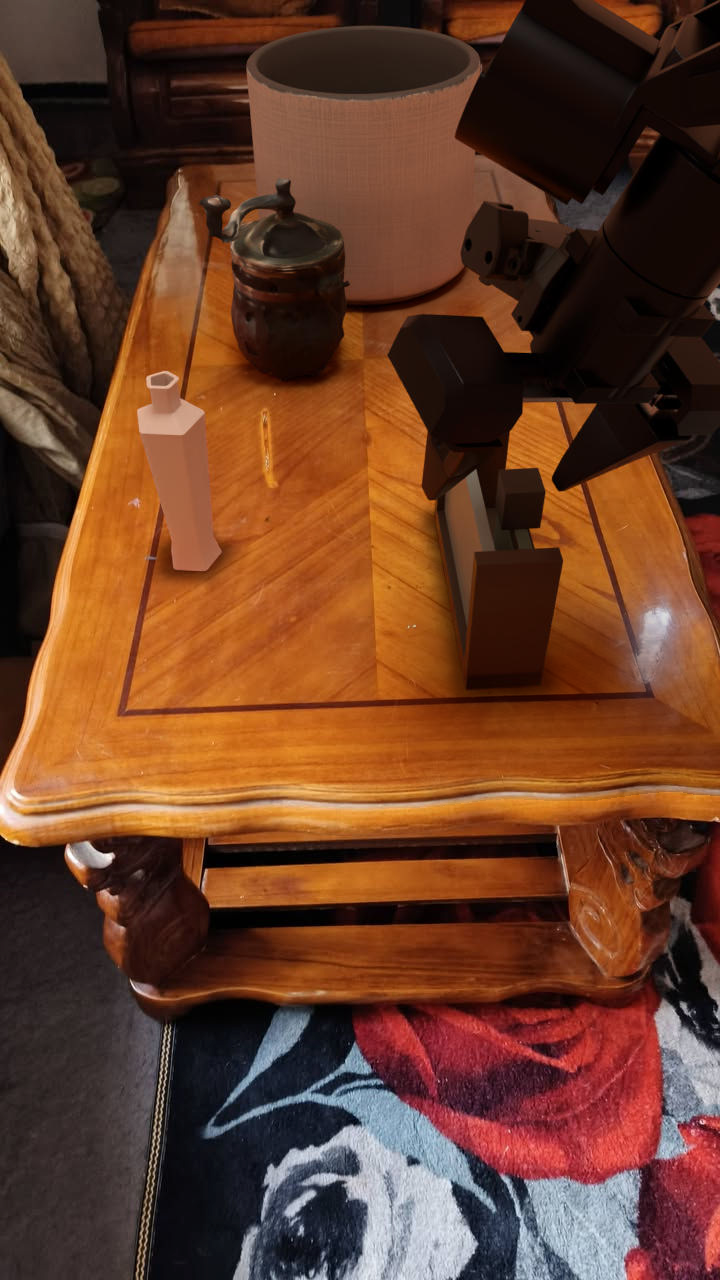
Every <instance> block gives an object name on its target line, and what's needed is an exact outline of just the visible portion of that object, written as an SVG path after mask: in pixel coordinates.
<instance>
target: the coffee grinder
mask: <svg viewBox="0 0 720 1280" xmlns="http://www.w3.org/2000/svg"><path fill="white" fill-rule="evenodd" d="M290 185H291V181H290V180H289V179H287V178H278V179H277V181H276V184H275V187H276V190H277V193H274V194H269V195H264V196H258V197H257V196H253V197H251V198H248V199H246V200H244V201H242V202H241V203H240V204H239V205H238V207H237V208H236V209H235V210H233V212H232V213H231V215H230V216H229V221H228V223H227V225H225V227H223V225H224V224H223V223H224V222H223V214H224V213H225V212H226V211H229V210H230V209H231V208H232V203H231V200H230V199H228V198H225V197H222V196H220V195H219V194H215V195H212V196H210V195H209V196H206V197H203V198H201V199H200V200H199V202H198V205H200V206H201V207H202V208H203V210H204V212H205V218H206V219H205V220H206V221H205V222H206V223H205V224H206V227H207V230H208V236H210V237H212V238H217V239H219V240H221V242H222V243H223V244H229V248H230V249H229V250H230V258H231V271H232V279H233V290H232V300H231V309H230V317H231V324H232V329H233V330H232V331H233V335H234V338H235V340H236V342H237V347H238V350H239V351H240V352H241V353H242V355H243V356H244V358H245V360H246V361H247V362H248V363H249V365H251V366H252V367H253V368H255V369H256V370H257V371H258V372H259V373H261V374H265V375H272V376H274V377H275V378H276V379H277V380H279V381H280V382H284V381H290V380H293V379H295V378H298V377H301V376H305V375H309V376H310V377H314V376H317V375H318V374H319V373H321V372H323V371H324V370H325V369H326V367H327V364H329V362H330V361H331V359H332V358H333V357H334V355H335V353H336V351H337V349H338V348H340V347H339V346H340V344H341V342H342V341H343V338H344V337H345V330H344V327H343V326H344V325H343V324H344V320H345V316H346V313H347V309H348V305H347V302H346V296H345V289H344V287H348V286H349V285H350V283H349V282H348V280H347V281H345V282H344V270H345V246H344V239H343V236H342V234H341V232H340V231H339V230H338V229H336V228H335V227H334V226H333V225H331V224H329V223H326V222H324V221H322V220H317V219H315V218H310V217H308V216H306V215H303V214H300V213H296V212H293V209H294V207H295V204H296V201H295V199H294V197H293V196H292V195H291V193H290ZM258 209H269V210H274V211H275V212H276V213H274V214H271V215H269V216H267V217H264V218H261V219H260V220H259V219H257V220H252V221H248V222H245V221H243V220H244V219H245V217H246V216H247V215H248V214H250V212H253V211H255V210H258Z"/></svg>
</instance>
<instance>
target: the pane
mask: <svg viewBox="0 0 720 1280" xmlns="http://www.w3.org/2000/svg"><path fill="white" fill-rule="evenodd" d="M545 500H546V488H545V484H544V481H543V479H542V476H541V472H540V470H539V467H528V468H527V467H524V468H523V467H522V468H506V469H503V470H499V475H498V484H497V494H496V503H495V507H496V511H497V516H496V526H495V535H494V546H495V550H496V551H498V550H517V549H536V547H535V544H534V540H533V537H532V534H531V533H532V532H531V530H532V529H535V530H536V529H540V528H541V526H542V519H543V513H544V506H545Z"/></svg>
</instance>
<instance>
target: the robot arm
mask: <svg viewBox="0 0 720 1280" xmlns="http://www.w3.org/2000/svg"><path fill="white" fill-rule="evenodd" d="M646 127H648V128H650V129H651V130H653V131H655V132H656V133H658V134H657V136H656V138H655V140H654V141H653V142H652V144H651V146H650V147H649V149H648V151H647V153H646V154H645V155H644V157H643V159H642V160H641V162H640V163H639V165H638V167H637V168H636V170H635V171H634V172H633V175H632V176H631V178H630V179H629V181H628V183H627V184H626V186H624V189H623V191H621V194H620V195H619V197H618V198H617V200H616V202H615V203H614V205H613V207H612V208H611V209H610V211H609V212H608V214H607V216H606V217H605V219H604V220H603V222H602V223H601V225H600V227H599V228H598V230H595V229H588V228H587V229H586V228H577V227H576V228H575V229H574V228H572V227H570V226H568V225H565V224H562V223H559V222H555V221H552V220H551V221H550V220H544V219H536V218H530V216H529V214H528V212H526V211H523V210H516V209H515V208H514V206H513V205H512V204H510V203H505V202H498V201H489V200H488V201H487V200H484V201H483V202H482V204H481V205H480V207H479V209H478V210H477V212H476V213H475V215H474V216H473V217H472V221H471V223H470V224H469V226H468V228H467V230H466V233H465V237H464V241H463V244H462V248H461V253H460V254H461V260H462V263H463V265H464V268H466V269H468V270H470V271H471V272H473V273H475V274H476V275H477V276H478V281H479V282H480V283H481V284H483V285H484V286H486V287H490V286H493V287H495V288H496V289H498V290H499V291H501V292H502V293H504V294H506V295H507V296H508V297H510V298H512V299H514V300H515V301H517V304H516V305H515V307H514V308H513V310H512V312H511V317H512V318H513V320H514V321H515V323H516V325H517V327H518V328H519V329H520V331H521V332H529V334H530V335H531V337H532V339H531V341H530V343H529V349H530V352H521V351H504V349H503V347H502V346H501V345H500V343H499V341H498V339H497V338H496V336H495V334H494V333H493V331H492V330H491V328H490V326H489V324H488V323H487V321H486V319H485V317H484V316H475V315H474V316H473V315H453V314H452V315H451V314H433V313H431V314H430V313H421V314H420V313H419V314H413V315H408V316H407V317H406V318H405V320H404V321H403V323H402V325H401V327H400V328H399V330H398V332H397V334H396V336H395V338H394V340H393V342H392V345H391V347H390V349H389V351H388V353H387V355H386V356H387V357H388V359H389V361H390V364H391V365H392V367H393V368H394V370H395V372H396V375H397V377H398V378H399V380H400V382H401V384H402V385H403V388H404V389H405V391H406V393H407V395H408V397H409V399H410V401H411V402H412V405H413V406H414V408H415V411H416V412H417V414H418V416H419V417H420V420H421V421H422V423H423V425H424V427H425V429H426V431H427V432H426V441H425V450H424V452H425V453H424V460H423V468H422V478H421V488H422V491H423V493H424V495H425V497H426V499H427V500H428V501H435V500H436V499H438V498H439V497H441V496H442V495H444V494H445V493H447V492H448V491H450V490H451V489H452V488H453V487H455V486H456V485H457V484H458V483H459V482H461V481H462V480H463V479H464V478H466V477H467V476H468V475H469V474H471V473H472V472H473V471H474V470H476V469H477V468H478V467H479V466H480V465H482V464H483V463H484V462H486V461H487V460H488V459H489V458H491V457H492V456H493V455H494V454H496V453H497V452H498V451H499V450H500V449H501V448H502V447H503V444H502V442H501V441H500V439H499V437H500V436H502V435H504V434H505V433H507V432H509V431H510V432H511V431H512V430H513V429H514V428H515V426H516V424H517V422H518V421H519V420H520V418H521V417H522V415H523V413H524V404H525V403H526V404H527V403H532V404H533V403H534V404H535V403H537V404H538V403H540V404H541V403H574V404H575V405H595V406H594V407H593V408H592V410H591V411H590V413H589V415H588V416H587V417H586V419H585V420H584V422H583V424H582V426H581V427H580V429H579V430H578V432H577V433H576V435H575V436H574V437H573V440H572V441H571V443H570V444H569V446H568V447H567V449H566V450H565V452H564V454H562V457H561V458H560V460H559V462H558V464H557V466H556V468H555V469H554V472H553V474H552V476H551V482H552V484H553V485H554V487H555V489H556V490H557V491H558V492H567V491H568V490H571V489H574V488H575V487H578V486H580V485H582V484H585V483H587V482H589V481H591V480H594V479H597V478H598V477H600V476H602V475H605V474H607V473H610V472H612V471H615V470H617V469H619V468H621V467H624V466H626V465H629V464H631V463H633V462H635V461H639V460H642V459H644V458H646V457H648V456H651V455H654V454H656V453H658V452H661V451H663V450H666V449H668V448H671V447H673V446H676V445H683V444H686V443H688V442H689V441H690V440H691V439H692V438H693V436H710V435H711V436H712V435H713V434H714V433H715V431H716V430H717V429H718V428H719V427H720V361H719V359H718V358H717V357H716V356H715V354H714V353H713V352H712V350H711V349H710V347H709V345H708V344H707V343H706V342H705V341H704V339H703V338H702V337H703V336H704V335H705V333H707V331H708V330H709V328H710V327H711V326H712V325H713V324H714V323H715V321H716V319H715V318H714V316H713V315H712V314H711V312H710V311H709V310H708V308H707V307H706V306H705V305H704V304H705V303H706V301H708V299H709V298H710V297H711V295H712V294H713V292H714V291H715V290H716V289H717V287H718V286H719V285H720V0H716V1H714V2H712V3H710V4H708V5H706V6H704V7H702V8H700V9H698V10H696V11H694V12H693V13H688V14H687V15H686V16H684V17H683V18H680V19H679V20H677V21H675V22H673V23H671V24H669V25H668V26H667V27H666V28H665V29H664V32H663V33H662V35H661V38H660V39H657V38H656V37H655V36H652V35H651V34H649V33H648V32H646V31H644V30H642V29H641V28H640V27H638V26H636V25H634V24H633V23H631V22H629V21H628V20H626V19H625V18H623V17H622V16H620V15H618V14H617V13H615V12H613V10H610V9H608V8H607V7H605V6H604V5H602V4H601V3H599V2H597V1H595V0H524V1H523V4H522V6H521V8H520V9H519V11H518V13H517V15H516V16H515V18H514V19H513V21H512V23H511V25H510V27H509V28H508V30H507V31H506V34H505V36H504V37H503V39H502V42H501V43H500V45H499V47H498V49H497V51H496V53H495V55H494V56H493V57H492V58H491V60H490V61H489V62H488V63H487V64H486V65H485V67H484V68H483V69H482V70H481V71H480V75H479V77H478V79H477V81H476V84H475V86H474V88H473V90H472V92H471V94H470V97H469V99H468V101H467V104H466V106H465V108H464V111H463V113H462V116H461V118H460V121H459V123H458V126H457V129H456V133H455V139H456V140H458V141H460V142H462V143H463V144H465V145H467V146H468V147H470V148H472V149H473V150H475V152H476V153H478V154H480V155H482V156H483V157H485V158H486V159H488V160H490V161H491V162H494V163H495V164H496V165H498V166H500V167H502V168H503V169H505V170H507V171H509V172H510V173H511V174H514V175H515V176H517V177H519V178H520V179H521V180H523V181H526V182H527V183H528V184H530V185H531V186H533V187H536V188H537V189H539V190H540V191H542V192H544V193H545V194H547V195H549V196H550V197H552V198H553V199H555V200H557V201H559V202H560V203H562V204H563V205H565V206H568V205H569V203H570V202H571V200H574V201H575V202H577V203H579V204H581V205H583V204H584V202H585V201H586V200H587V198H588V196H589V195H590V193H591V191H594V192H596V193H597V194H599V195H600V196H604V194H606V192H607V190H608V189H609V187H610V186H611V185H612V183H613V181H614V180H615V178H616V177H617V175H618V173H619V172H620V171H621V169H622V167H623V166H624V164H625V162H626V160H627V159H628V157H629V156H630V154H631V152H632V151H633V149H634V147H635V145H636V144H637V142H638V140H639V139H640V137H641V136H642V134H643V132H644V130H645V129H646Z"/></svg>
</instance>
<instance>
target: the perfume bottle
mask: <svg viewBox="0 0 720 1280" xmlns="http://www.w3.org/2000/svg"><path fill="white" fill-rule="evenodd" d="M179 380H180V377H179V376H178V375H175V374H174V373H172V372H171V371H168V370H162V371H160V372H156V373H153V374H150V375H147V376H146V378H145V381H146V382H145V383H146V388H147V389H149V393H150V399H151V403H149V404H147V405H144V406H142V407H139V408H138V409H137V410H136V414H137V422H138V432H139V435H140V439H141V442H142V445H143V446H142V447H143V449H144V451H145V455H146V459H147V463H148V466H149V469H150V472H151V476H152V479H153V482H154V487H155V489H156V493H157V496H158V500H159V503H160V507H161V509H162V513H163V516H164V519H165V523H166V527H167V530H168V532H169V536H170V540H171V547H170V549H171V550H170V552H171V559H172V560H171V561H172V568H173V570H176V571H188V572H189V571H190V572H191V571H192V572H206V571H208V570H209V569H210V568H211V566H212V565H213V564H214V562H216V561H217V559H218V558H219V556H220V555H221V554H222V551H223V550H222V549H221V547H220V545H219V543H218V542H217V540H216V538H215V535H214V534H215V533H214V522H213V509H212V495H211V480H210V468H209V452H208V440H207V439H208V438H207V427H206V426H207V425H206V413H205V410H203V409H202V408H200V407H198V406H196V405H194V404H192V403H191V402H189V401H187V400H185V399H183V398H181V393H180V389H179V384H178V382H179Z"/></svg>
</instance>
